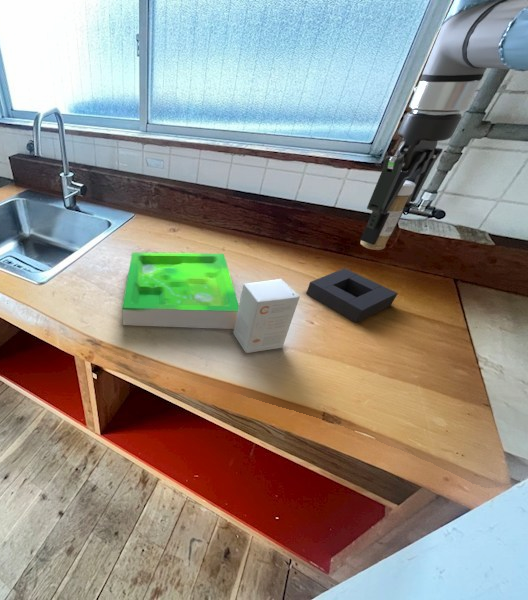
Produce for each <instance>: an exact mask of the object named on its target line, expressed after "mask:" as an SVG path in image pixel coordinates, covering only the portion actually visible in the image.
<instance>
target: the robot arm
mask: <svg viewBox="0 0 528 600" xmlns="http://www.w3.org/2000/svg"><path fill="white" fill-rule="evenodd" d="M487 69H495V70H496V69H497V70H514V71H516V72H527V71H528V0H453V2H452V4H451V6H450V8H449V11H448V13H447V15H446V17H445V19H444V20H443V21H442V23H441V25H440V29H439V32H438V34H437V36H436V39H435V41H434V44H433V47H432V49H431V51H430V54H429V57H428V59H427V61H426V64H425V66H424V69H423V71H422V74H421V77H420V80H419V82H418V84H417V86H416V87H414V89H413V93H414V94H413V96H412V98H411V101H410V103H409V106H408V108H409V109H410V110H411V111H408V112H407V113H405V114H404V116H403V119H402V121H401V124H400V126H399V128H398V131H397V135H398V137H400V138H402V139H403V142H402V144H401V145H400V147H399V148H398V150H397V152H396V154H394V155H393V156H392V155H387V156H386V157H385V158H384V161H383V165H382V170H381V173H380V175H379V176H378V177H379V178H378V179H377V182H376V185H375V187H374V189H373V192H372V194H371V197H370V199H369V201H368V204H367V206H366V209H367V210H368V211H371V214H370V216H369V218H368V220H367V223H366V225H365V228H364V230H363V232H362V234H361V237H360V239H359V240H360V241H361V240H362V241H364V242H367V243H369V244H372V245H374V244H376V241H377V239H378V237H379V235H380V233H381V231H382V229H383V227H384V224H385V222H386V220H387V218H388V216H389V213H387V212H388V210H389V209H390V207H391V205H392V203H393V202H394V200H395V198H396V196H397V195H398V193H399V191H400V190H401V188H402V186H403V184H404V183H405V181H406V180H408V181H411V182H414V183H415V188H414V190H413V192H412V194H411V195H410V197H409V198H408V200H407V202H406V204H405V206H404V208H403V211H402V213H401V215H400V217H399V219H398V221H397V223H396V226H395V228H394V230H393V232H392V234H391V235H390V237H389V238H388V240H389V239H391V238H392V236H393V234H394V232H395V230H396V228H397V226H398V223H399V222H400V220H401V218H402V216H403V214H404V211H405V210H406V208H407V209H412V208H413V206H414V204H415V201H416V200H417V198H418V196H419V194H420V193H421V191H422V188H423V186H424V184H425V182H426V181H427V179H428V177H429V174H430V173H431V171H432V169H433V167H434V165H435V163H436V161H438V158H439V157H440V155H441V154H442V152H443V148H440V147H438V142H441V141H442V142H443V141H446V140H447V141H448V140H449V139H451V138H452V137H453V136H454V133H455V132H456V130H457V128H458V126H459V124H460V122H461V120H462V118H463V116H462V113H461V112H463V111H465V110H467V109H468V107H469V106H470V103H471V101H472V100H473V98H474V95H475V93H476V92H477V89H478V88H479V85H480V83H481V81H482V79H483V77H484V75H485V73H486V70H487Z"/></svg>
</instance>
